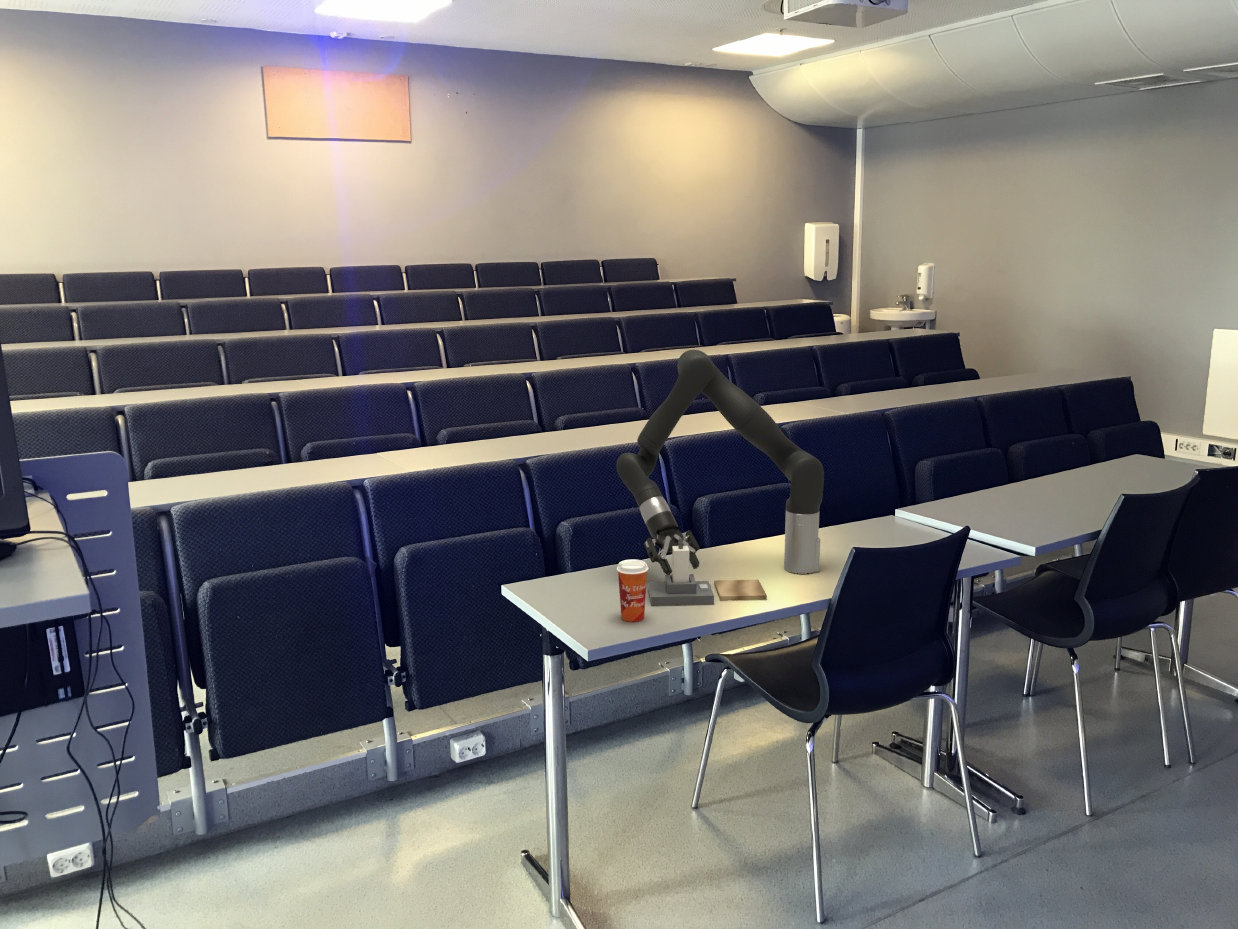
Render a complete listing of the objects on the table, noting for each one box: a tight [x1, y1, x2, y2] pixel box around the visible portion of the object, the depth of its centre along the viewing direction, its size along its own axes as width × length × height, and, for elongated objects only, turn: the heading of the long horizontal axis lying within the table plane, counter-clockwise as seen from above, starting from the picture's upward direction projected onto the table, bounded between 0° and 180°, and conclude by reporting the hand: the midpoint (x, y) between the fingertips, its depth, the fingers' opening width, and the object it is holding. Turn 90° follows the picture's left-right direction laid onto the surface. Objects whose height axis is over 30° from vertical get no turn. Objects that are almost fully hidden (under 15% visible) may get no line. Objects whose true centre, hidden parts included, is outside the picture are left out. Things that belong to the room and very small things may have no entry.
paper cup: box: [616, 558, 650, 623], centre depth 228 cm, size 8×8×14 cm
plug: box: [671, 538, 690, 583], centre depth 240 cm, size 4×4×14 cm
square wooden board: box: [713, 578, 768, 602], centre depth 246 cm, size 12×12×1 cm
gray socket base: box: [648, 573, 715, 607], centre depth 242 cm, size 16×11×5 cm
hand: (683, 570), depth 240 cm, fingers open, 8 cm apart
